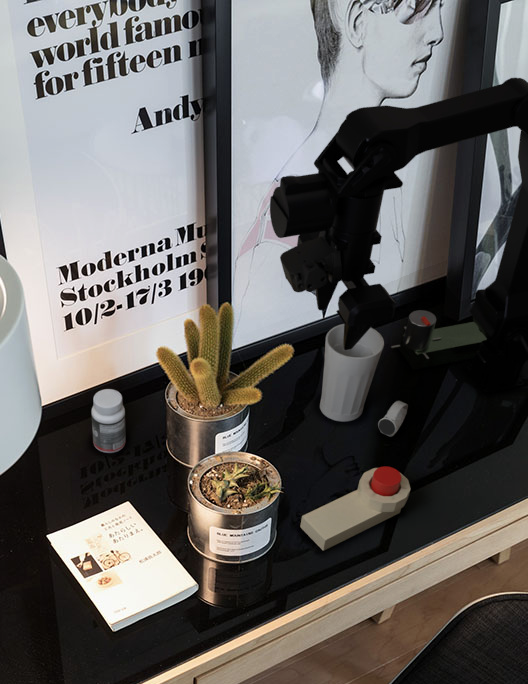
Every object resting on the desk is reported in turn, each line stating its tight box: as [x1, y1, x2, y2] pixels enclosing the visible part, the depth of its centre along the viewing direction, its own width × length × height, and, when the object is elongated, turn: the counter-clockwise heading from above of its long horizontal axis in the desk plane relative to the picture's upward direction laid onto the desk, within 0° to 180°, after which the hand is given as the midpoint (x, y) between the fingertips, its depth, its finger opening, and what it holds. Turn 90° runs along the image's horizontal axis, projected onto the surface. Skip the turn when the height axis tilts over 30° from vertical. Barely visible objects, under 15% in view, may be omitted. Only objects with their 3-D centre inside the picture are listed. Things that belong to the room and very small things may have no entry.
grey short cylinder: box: [377, 400, 409, 438], centre depth 135 cm, size 3×5×5 cm, turn 143°
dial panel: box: [390, 321, 487, 371], centre depth 147 cm, size 15×8×3 cm, turn 105°
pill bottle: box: [90, 388, 127, 454], centre depth 134 cm, size 5×5×8 cm
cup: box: [319, 323, 385, 422], centre depth 136 cm, size 8×8×12 cm
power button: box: [371, 466, 402, 496], centre depth 125 cm, size 4×4×2 cm
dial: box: [403, 309, 437, 351], centre depth 143 cm, size 4×4×5 cm
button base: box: [299, 467, 411, 552], centre depth 125 cm, size 15×6×4 cm, turn 121°
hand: (334, 328), depth 129 cm, fingers open, 9 cm apart
